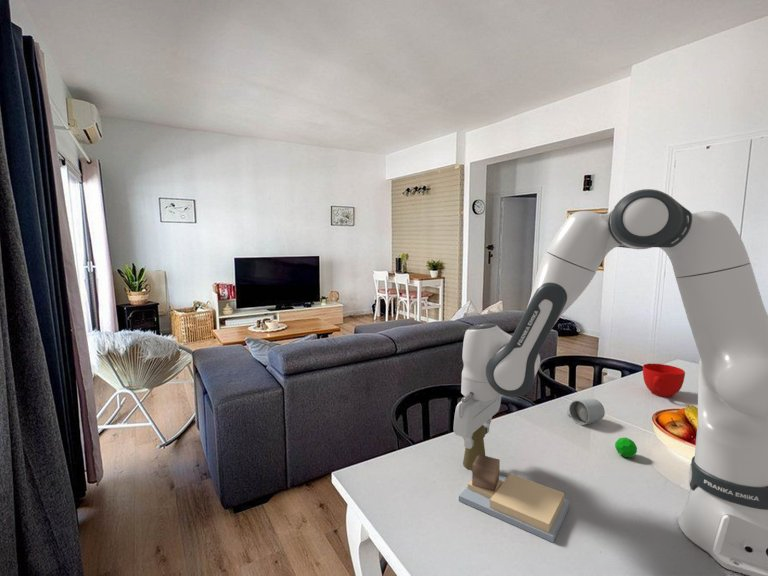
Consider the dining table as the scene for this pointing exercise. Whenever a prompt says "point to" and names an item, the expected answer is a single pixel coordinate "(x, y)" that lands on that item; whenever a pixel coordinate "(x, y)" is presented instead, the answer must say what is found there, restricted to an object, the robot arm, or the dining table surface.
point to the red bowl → (663, 379)
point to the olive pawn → (475, 448)
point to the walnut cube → (485, 472)
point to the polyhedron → (626, 447)
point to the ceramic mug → (586, 411)
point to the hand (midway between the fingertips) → (477, 439)
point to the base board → (521, 504)
